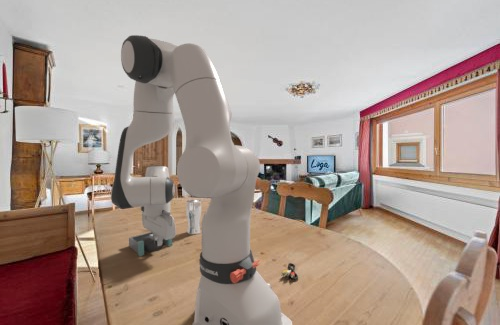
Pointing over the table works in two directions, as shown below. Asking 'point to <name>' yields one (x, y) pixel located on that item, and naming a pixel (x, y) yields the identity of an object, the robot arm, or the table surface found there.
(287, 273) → the composite cable
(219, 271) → the robot arm
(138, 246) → the cable holder
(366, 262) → the table surface
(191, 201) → the beer glass
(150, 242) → the dark grey rounded dome
